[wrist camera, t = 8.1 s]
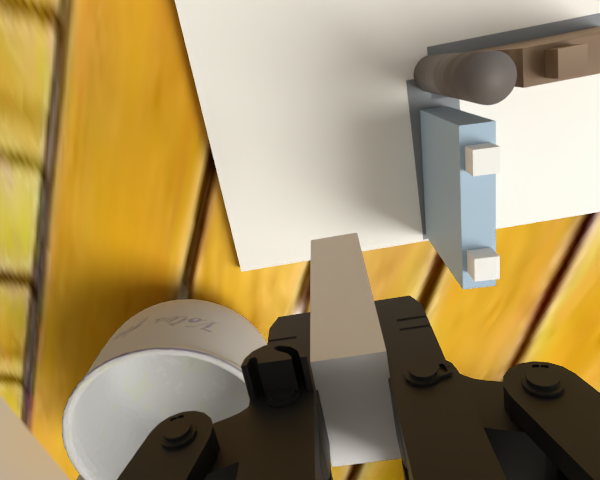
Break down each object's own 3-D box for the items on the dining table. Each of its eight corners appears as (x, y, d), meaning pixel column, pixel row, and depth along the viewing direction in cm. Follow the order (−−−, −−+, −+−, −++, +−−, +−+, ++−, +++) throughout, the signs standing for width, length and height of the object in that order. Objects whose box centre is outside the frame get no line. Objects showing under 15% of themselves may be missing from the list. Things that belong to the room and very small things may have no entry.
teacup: (223, 247, 29) (194, 311, 22) (318, 379, 32) (321, 476, 25) (46, 352, 32) (-34, 442, 24) (149, 465, 35) (106, 576, 27)
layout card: (170, -28, 24) (167, -30, 24) (612, -123, 23) (620, -128, 22) (242, 267, 29) (241, 271, 29) (604, 206, 28) (610, 209, 27)
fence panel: (426, 235, 28) (469, 299, 20) (419, 109, 26) (466, 129, 18) (451, 232, 28) (504, 296, 20) (446, 106, 25) (505, 123, 18)
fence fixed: (411, 58, 25) (462, 56, 17) (599, 21, 24) (746, 0, 16) (415, 94, 25) (465, 109, 17) (598, 60, 25) (740, 58, 17)
